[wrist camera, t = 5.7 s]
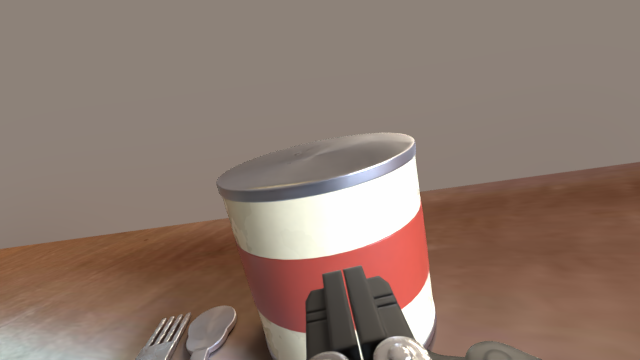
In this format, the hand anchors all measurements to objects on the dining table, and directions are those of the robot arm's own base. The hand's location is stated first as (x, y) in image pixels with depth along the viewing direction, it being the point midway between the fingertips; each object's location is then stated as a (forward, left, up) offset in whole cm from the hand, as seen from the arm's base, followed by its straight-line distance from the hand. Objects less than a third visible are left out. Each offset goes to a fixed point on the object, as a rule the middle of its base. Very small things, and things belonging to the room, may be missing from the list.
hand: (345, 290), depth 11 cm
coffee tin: (-7, +8, -10) cm, 14 cm away
